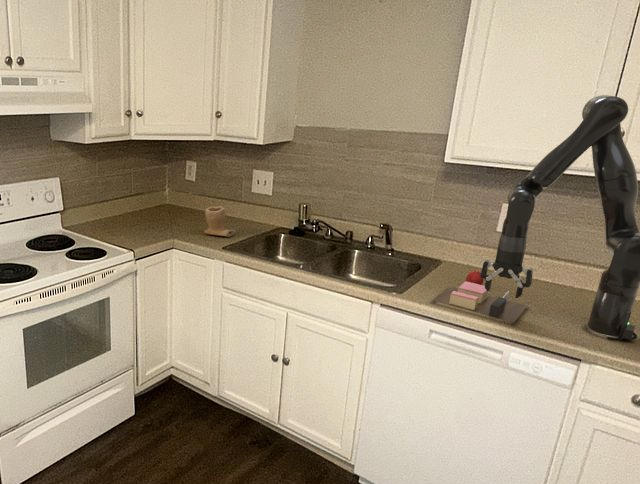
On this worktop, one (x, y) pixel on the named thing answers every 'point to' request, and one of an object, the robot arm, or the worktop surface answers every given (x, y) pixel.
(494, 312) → the knife
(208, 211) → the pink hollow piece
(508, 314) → the cake board
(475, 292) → the cake
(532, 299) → the worktop surface
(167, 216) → the worktop surface
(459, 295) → the pink and tan block
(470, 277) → the onion
